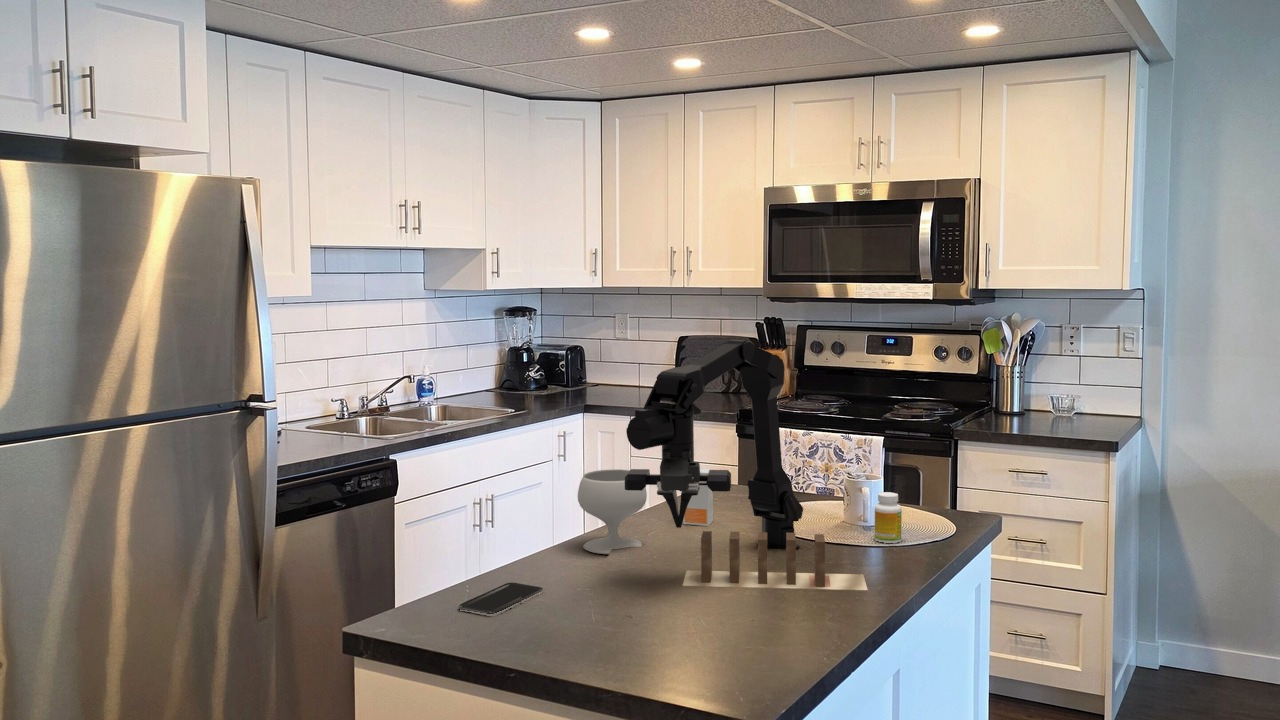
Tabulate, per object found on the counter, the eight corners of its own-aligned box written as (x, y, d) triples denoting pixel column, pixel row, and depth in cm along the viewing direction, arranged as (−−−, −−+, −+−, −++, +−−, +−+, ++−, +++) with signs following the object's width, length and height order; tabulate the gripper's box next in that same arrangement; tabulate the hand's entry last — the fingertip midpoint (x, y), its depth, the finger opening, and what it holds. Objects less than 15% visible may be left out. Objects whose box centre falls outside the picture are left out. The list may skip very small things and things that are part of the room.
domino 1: (701, 582, 187) (700, 538, 186) (703, 574, 192) (702, 531, 191) (710, 582, 187) (710, 538, 186) (712, 574, 192) (711, 531, 191)
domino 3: (758, 583, 186) (757, 539, 185) (758, 575, 191) (758, 532, 190) (767, 584, 185) (767, 539, 185) (767, 575, 190) (767, 532, 190)
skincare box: (682, 525, 231) (681, 471, 230) (687, 520, 235) (686, 467, 234) (709, 526, 229) (708, 472, 228) (713, 521, 233) (713, 468, 232)
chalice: (629, 535, 223) (627, 465, 222) (659, 551, 211) (658, 477, 209) (568, 544, 217) (566, 472, 216) (595, 561, 205) (594, 485, 203)
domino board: (682, 591, 185) (682, 585, 185) (686, 575, 194) (686, 570, 194) (867, 595, 181) (867, 590, 181) (863, 579, 190) (863, 574, 190)
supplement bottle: (901, 544, 213) (902, 497, 212) (874, 543, 214) (874, 496, 213) (900, 537, 218) (901, 491, 217) (874, 536, 219) (874, 490, 218)
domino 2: (729, 583, 186) (729, 538, 186) (730, 574, 191) (730, 531, 190) (738, 583, 186) (738, 539, 185) (739, 574, 191) (739, 531, 190)
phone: (455, 606, 177) (509, 581, 190) (456, 612, 177) (509, 587, 190) (493, 613, 173) (545, 587, 186) (493, 620, 173) (545, 594, 186)
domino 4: (786, 584, 185) (786, 540, 184) (786, 576, 190) (786, 532, 189) (795, 584, 185) (795, 540, 184) (795, 576, 190) (795, 532, 189)
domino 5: (815, 586, 184) (815, 541, 183) (814, 577, 189) (814, 534, 188) (824, 586, 183) (825, 541, 183) (823, 578, 188) (823, 534, 188)
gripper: (619, 449, 181) (621, 538, 182) (728, 450, 178) (729, 540, 180) (628, 438, 192) (629, 522, 193) (730, 438, 189) (731, 523, 191)
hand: (678, 527), depth 189 cm, fingers closed
